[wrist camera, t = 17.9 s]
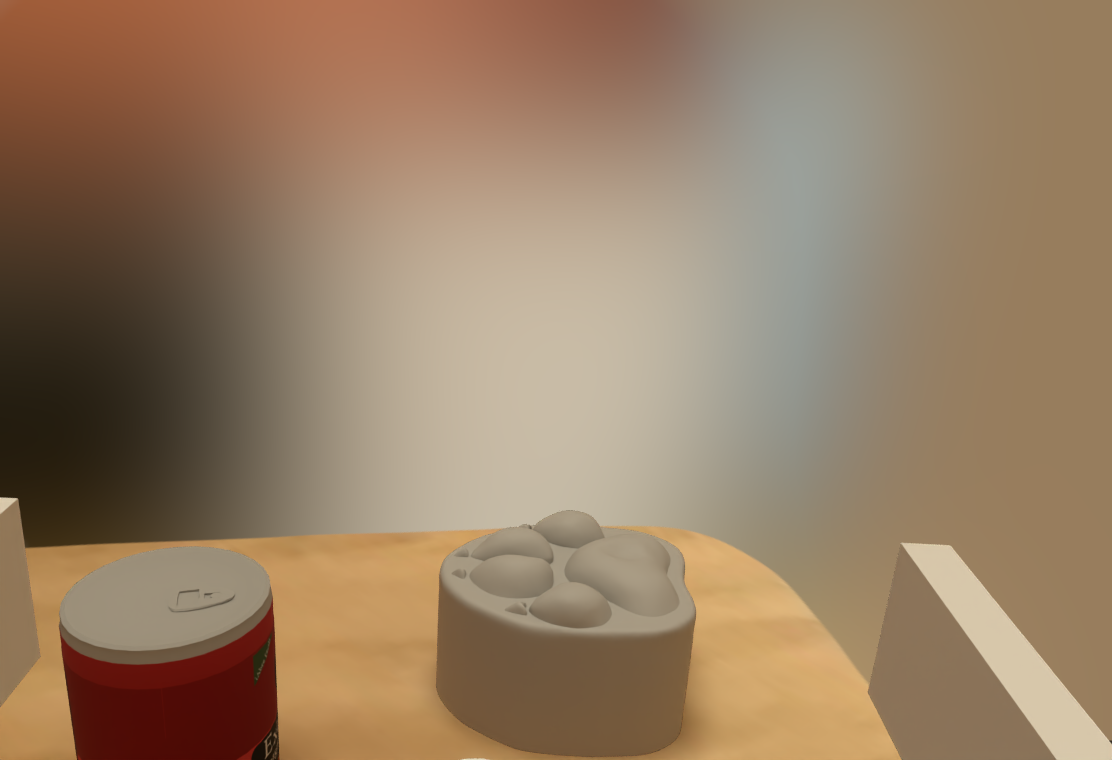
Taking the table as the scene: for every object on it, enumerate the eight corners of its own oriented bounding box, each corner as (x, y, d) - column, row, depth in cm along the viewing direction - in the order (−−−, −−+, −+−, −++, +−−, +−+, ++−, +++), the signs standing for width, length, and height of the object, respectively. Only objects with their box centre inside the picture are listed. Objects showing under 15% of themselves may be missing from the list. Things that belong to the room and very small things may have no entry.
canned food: (302, 834, 41) (295, 617, 37) (98, 909, 37) (67, 673, 33) (256, 725, 47) (246, 529, 43) (77, 779, 43) (48, 568, 39)
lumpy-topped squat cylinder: (688, 763, 46) (709, 612, 43) (423, 748, 46) (426, 596, 43) (665, 636, 56) (681, 506, 53) (447, 624, 56) (451, 493, 53)
